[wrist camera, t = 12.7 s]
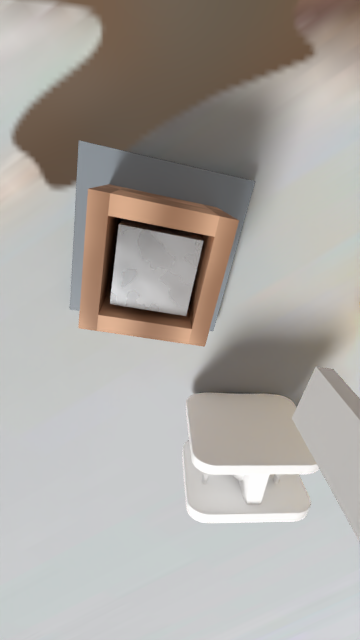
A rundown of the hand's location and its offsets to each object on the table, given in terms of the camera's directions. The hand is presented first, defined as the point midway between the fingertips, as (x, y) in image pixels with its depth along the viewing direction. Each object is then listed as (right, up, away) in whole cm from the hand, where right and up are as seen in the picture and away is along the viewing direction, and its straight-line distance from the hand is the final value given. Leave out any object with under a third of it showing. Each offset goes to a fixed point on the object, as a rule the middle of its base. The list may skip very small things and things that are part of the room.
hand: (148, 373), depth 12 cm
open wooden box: (-1, +9, +19) cm, 21 cm away
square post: (-1, +9, +19) cm, 21 cm away
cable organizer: (+9, -12, +32) cm, 35 cm away
